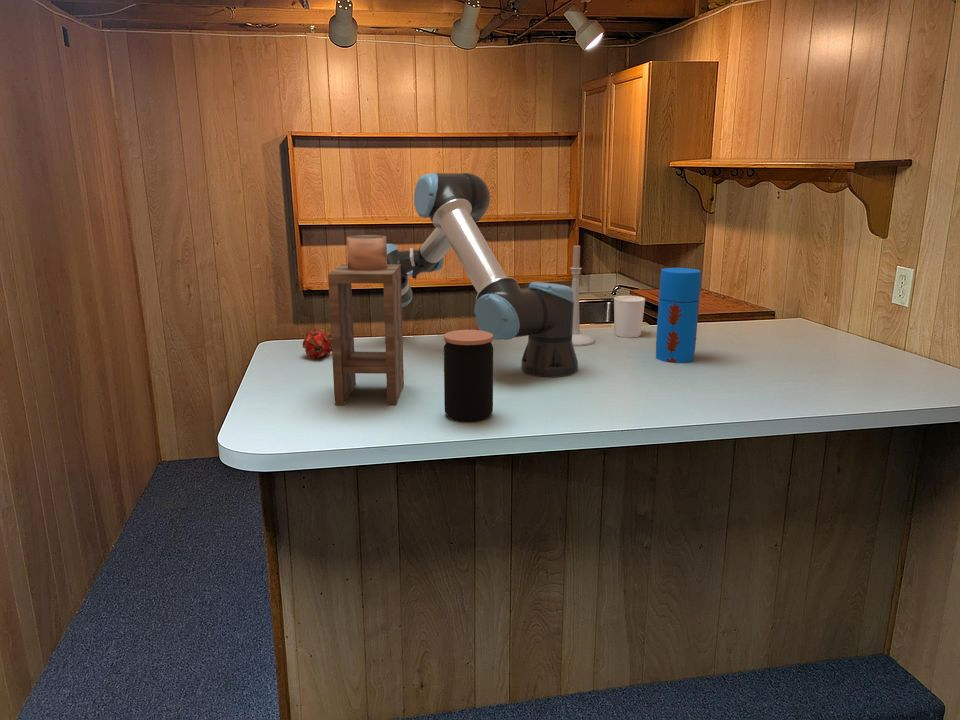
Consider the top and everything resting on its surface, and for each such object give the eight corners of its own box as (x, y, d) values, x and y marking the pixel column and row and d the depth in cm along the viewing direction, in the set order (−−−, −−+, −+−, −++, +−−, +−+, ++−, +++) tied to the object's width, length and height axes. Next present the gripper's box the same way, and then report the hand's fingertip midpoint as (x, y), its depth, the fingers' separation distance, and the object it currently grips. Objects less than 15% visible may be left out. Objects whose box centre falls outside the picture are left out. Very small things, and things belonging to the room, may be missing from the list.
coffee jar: (494, 407, 163) (495, 330, 159) (490, 424, 153) (491, 341, 148) (448, 406, 164) (447, 328, 160) (440, 422, 154) (439, 340, 150)
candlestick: (545, 342, 223) (547, 244, 215) (564, 334, 233) (568, 241, 226) (582, 348, 216) (586, 247, 208) (601, 340, 226) (605, 243, 219)
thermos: (652, 360, 203) (658, 271, 196) (658, 351, 212) (663, 266, 206) (692, 364, 199) (699, 274, 192) (696, 355, 208) (703, 269, 202)
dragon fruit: (321, 355, 213) (322, 372, 203) (296, 341, 210) (295, 357, 199) (337, 333, 212) (339, 349, 201) (312, 318, 208) (313, 333, 198)
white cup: (624, 339, 227) (627, 302, 224) (605, 333, 235) (607, 297, 232) (649, 336, 231) (651, 299, 228) (629, 330, 240) (631, 294, 237)
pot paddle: (363, 256, 188) (362, 228, 186) (398, 256, 188) (397, 228, 186) (344, 270, 163) (343, 238, 161) (384, 270, 163) (383, 238, 161)
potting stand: (347, 384, 180) (342, 264, 173) (403, 384, 180) (400, 264, 172) (334, 405, 165) (327, 274, 157) (396, 405, 165) (392, 274, 157)
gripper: (436, 292, 218) (431, 265, 198) (354, 291, 219) (340, 265, 198) (437, 268, 220) (432, 240, 200) (355, 268, 220) (342, 239, 200)
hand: (386, 252), depth 199 cm, fingers open, 13 cm apart
